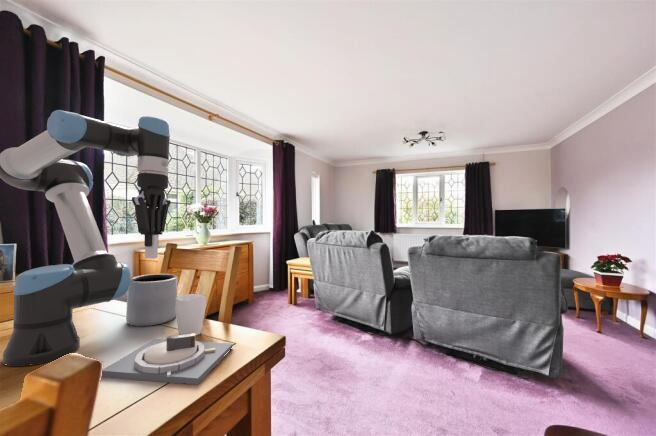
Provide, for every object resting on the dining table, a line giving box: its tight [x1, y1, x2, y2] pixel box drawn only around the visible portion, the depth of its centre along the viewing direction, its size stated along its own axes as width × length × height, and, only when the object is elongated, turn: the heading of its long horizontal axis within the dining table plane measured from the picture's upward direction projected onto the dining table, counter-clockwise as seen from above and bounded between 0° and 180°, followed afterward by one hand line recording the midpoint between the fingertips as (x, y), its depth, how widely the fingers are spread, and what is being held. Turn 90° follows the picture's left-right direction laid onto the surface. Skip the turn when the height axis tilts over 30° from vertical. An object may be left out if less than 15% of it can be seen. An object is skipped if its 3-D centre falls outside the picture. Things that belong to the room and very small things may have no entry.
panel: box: [101, 338, 234, 386], centre depth 78 cm, size 24×20×3 cm
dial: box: [144, 333, 197, 365], centre depth 77 cm, size 12×12×5 cm
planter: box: [125, 273, 179, 327], centre depth 109 cm, size 16×16×16 cm
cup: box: [175, 293, 207, 336], centre depth 97 cm, size 9×9×12 cm
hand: (151, 257), depth 83 cm, fingers closed
